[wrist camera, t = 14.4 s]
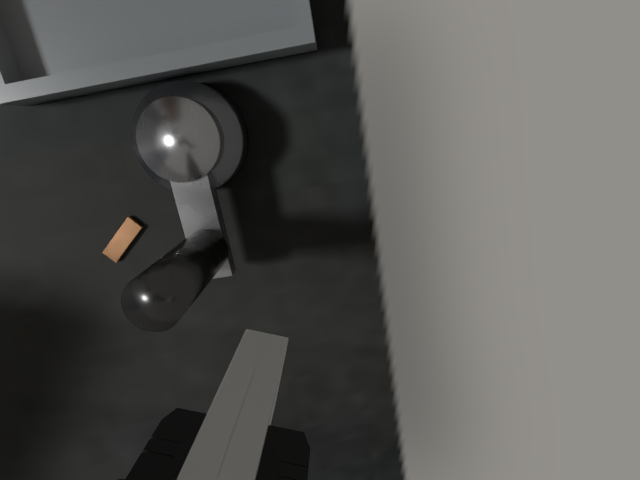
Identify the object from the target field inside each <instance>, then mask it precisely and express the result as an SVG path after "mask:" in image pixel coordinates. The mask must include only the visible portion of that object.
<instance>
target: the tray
mask: <svg viewBox="0 0 640 480" xmlns="http://www.w3.org/2000/svg"><path fill="white" fill-rule="evenodd" d="M315 50H317V43H316V37H315V30H314V24H313V17H312V11H311V5H310V0H0V105H17V106H30V105H35V104H40V103H45V102H51V101H56V100H61V99H66V98H71V97H77V96H82V95H87V94H92V93H97V92H102V91H108V90H113V89H118V88H123V87H128V86H134V85H139V84H144V83H149V82H154V81H159V80H165V79H170V78H175V77H180V76H185V75H191V74H196V73H201V72H206V71H211V70H216V69H222V68H227V67H232V66H237V65H242V64H248V63H253V62H258V61H263V60H268V59H273V58H279V57H284V56H289V55H294V54H299V53H305V52H310V51H315Z"/></svg>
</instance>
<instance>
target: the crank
mask: <svg viewBox="0 0 640 480" xmlns="http://www.w3.org/2000/svg"><path fill="white" fill-rule="evenodd" d="M136 142H137V147H138V150H139V153H140V155H141V157H142V159H143V160H144V162H145V163H146V165H147V166H148V167H149V168H150V169H151V170H152V171H153V172H154V173H156V174H157V175H158V176H160V177H162V178H164V179H166V180H169V181H170V183H171V187H172V190H173V194H174V198H175V201H176V205H177V208H178V212H179V216H180V219H181V223H182V227H183V230H184V234H185V237H186V239H185V240H184V241H182V242H181V243H180V244H178V245H177V246H176V247H175V248H173V249H172V250H171V251H169V252H168V253H167V254H165V255H164V256H163V257H161V258H160V259H159V260H158V261H156V262H155V263H154V264H152V265H151V266H150V267H148V268H147V269H146V270H145V271H143V272H142V273H141V274H139V275H138V276H137V277H135V278H134V279H133V280H132V281H130V282H129V283H128V284H127V285H126V286H125V288H124V290H123V292H122V296H121V305H122V309H123V311H124V313H125V315H126V317H127V318H128V319H129V320H130V321H131V322H132V323H133V324H134V325H135V326H137V327H139V328H140V329H143V330H146V331H149V332H162V331H166V330H168V329H170V328H172V327H173V326H174V325H175V324H176V323H177V322H178V321H179V319H180V318H181V317H182V316H183V315H184V313H185V312H186V311H187V310H188V308H189V307H190V306H191V305H192V303H193V302H194V301H195V300H196V298H197V297H198V296H199V295H200V293H201V292H202V291H203V290H204V288H205V287H206V286H207V285H208V283H209V282H210V281H211V280H212V279H213V278H220V277H227V276H232V275H233V274H234V272H235V271H236V269H235V265H234V260H233V256H232V252H231V248H230V244H229V240H228V236H227V232H226V228H225V224H224V219H223V215H222V211H221V207H220V203H219V199H218V195H217V191H216V187H215V183H214V179H213V174H212V171H213V170H214V169H215V168H216V167H217V165H218V164H219V162H220V160H221V158H222V155H223V152H224V134H223V130H222V127H221V125H220V122H219V121H218V119H217V117H216V116H215V115H214V113H213V112H212V111H211V110H210V109H209V108H208V107H206V106H205V105H203V104H202V103H200V102H198V101H196V100H193V99H190V98H184V97H178V96H169V97H163V98H160V99H158V100H155V101H154V102H152V103H151V104H150V105H148V106H147V107H146V108H145V110H144V111H143V112H142V114H141V116H140V118H139V120H138V123H137V128H136Z"/></svg>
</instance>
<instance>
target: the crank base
mask: <svg viewBox="0 0 640 480" xmlns="http://www.w3.org/2000/svg"><path fill="white" fill-rule="evenodd" d="M169 96H178V97H184V98H190V99H193V100H196V101H198V102H200V103H202V104H203V105H205V106H206V107H208V108H209V109H210V110H211V111H212V112H213V113H214V115H215V116H216V117H217V119H218V121H219V122H220V125H221V127H222V130H223V134H224V152H223V155H222V158H221V160H220V162H219V164H218V165H217V167H216V168H215V169H214V170H213V171H212V174H213V179H214V183H215V187H216V188H218V187H220V186H221V185H223V184H225V183H227V182H228V181H230V180H231V179H232V178H233V177H234V176H235V175H236V174H237V173H238V172H239V170H240V169H241V167H242V165H243V164H244V161H245V159H246V155H247V151H248V132H247V127H246V124H245V121H244V118H243V116H242V114H241V112H240V111H239V109H238V108H237V106H236V105H235V104H234V103H233V102H232V101H231V99H230V98H228V97H227V96H226V95H225V94H223V93H222V92H220V91H219V90H217V89H215V88H213V87H210V86H207V85H203V84H200V83H196V82H192V81H186V80H177V81H170V82H167V83H164V84H161V85H159V86H157V87H156V88H154V89H152V90H151V91H150V92H149V93H148V94H147V95H146V96H145V97H144V98H143V99H142V101H141V102H140V104H139V105H138V107H137V110H136V112H135V115H134V119H133V124H132V139H133V145H134V149H135V152H136V155H137V157H138V159H139V161H140V163H141V165H142V166H143V168H144V169H145V170H146V172H147V173H148V174H149V175H150V176H151V177H152V178H153V179H154V180H155V181H156V182H158V183H159V184H160V185H162V186H164V187H166V188H167V189H170V190H172V187H171V183H170V181H169V180H166V179H164V178H162V177H160V176H158V175H157V174H156V173H154V172H153V171H152V170H151V169H150V168H149V167H148V166H147V165H146V163H145V162H144V160H143V159H142V157H141V155H140V153H139V150H138V147H137V142H136V128H137V123H138V120H139V118H140V116H141V114H142V112H143V111H144V110H145V108H146V107H147V106H148V105H150V104H151V103H152V102H154V101H155V100H158V99H160V98H163V97H169ZM172 191H173V190H172ZM143 227H144V226H142V225H141V224H140V223H139V222H137V221H136V220H135V219H133V218H132V217H131V216H129V217H127V219H126V220H125V222H124V223H123V224H122V226H121V227H120V229H119V230H118V231H117V233H116V234H115V236H114V237H113V238H112V240H111V241H110V243H109V244H108V245H107V247H106V248H105V250H104V251H103V252H102V253H104V254H105V255H106V256H108V257H109V258H110V259H112V260H113V261H114V262H118V261H119V259H120V258H121V257H122V255H123V254H124V253H125V251H126V250H127V248H128V247H129V246H130V244H131V243H132V242H133V240H134V239H135V238H136V236H137V235H138V234H139V232H140V231H141V229H142V228H143Z"/></svg>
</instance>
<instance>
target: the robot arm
mask: <svg viewBox="0 0 640 480" xmlns="http://www.w3.org/2000/svg"><path fill="white" fill-rule="evenodd" d="M288 339H289V338H287V337H283V336H278V335H273V334H268V333H263V332H258V331H253V330H249V329H246V330H245V333H244V335H243V337H242V339H241V341H240V343H239V346H238V348H237V350H236V352H235V354H234V356H233V359H232V361H231V363H230V365H229V367H228V369H227V371H226V374H225V376H224V378H223V380H222V382H221V384H220V387H219V389H218V391H217V393H216V395H215V397H214V400H213V402H212V404H211V406H210V408H209V410H208V413H207V414H205V413H200V412H195V411H190V410H185V409H180V408H176V409H175V410H174V411H172V412H171V413H170V414H169V415H167V416H166V417H165V418H163V419H162V420H161V422H160V423H159V425H158V426H157V428H156V430H155V431H154V433H153V435H152V437H151V439H150V440H149V441H148V443H147V445H146V446H145V448H144V450H143V453H141V454H140V456H139V458H138V459H137V461H136V463H135V464H134V466H133V468H132V469H131V471H130V473H129V474H128V476H127V478H126V479H119V480H307V477H308V466H309V455H310V447H309V445H308V442H307V439H306V436H305V434H304V432H300V431H295V430H290V429H285V428H280V427H275V426H270V425H271V420H272V416H273V412H274V408H275V403H276V398H277V393H278V388H279V384H280V379H281V374H282V369H283V364H284V359H285V354H286V349H287V344H288Z"/></svg>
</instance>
